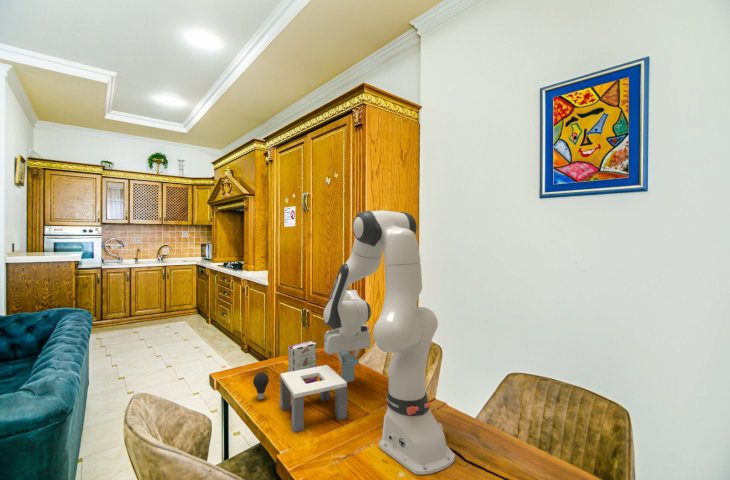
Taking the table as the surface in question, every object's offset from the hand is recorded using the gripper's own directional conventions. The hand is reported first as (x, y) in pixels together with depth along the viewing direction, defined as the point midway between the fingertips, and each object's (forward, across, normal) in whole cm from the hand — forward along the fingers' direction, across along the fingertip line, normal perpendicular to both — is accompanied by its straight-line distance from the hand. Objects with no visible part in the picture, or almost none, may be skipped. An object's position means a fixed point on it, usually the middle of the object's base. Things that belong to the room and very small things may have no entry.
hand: (347, 361), depth 136 cm
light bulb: (+10, -34, +4) cm, 36 cm away
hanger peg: (+8, 0, 0) cm, 8 cm away
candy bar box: (+10, -16, +10) cm, 22 cm away
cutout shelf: (+10, -20, -14) cm, 26 cm away
